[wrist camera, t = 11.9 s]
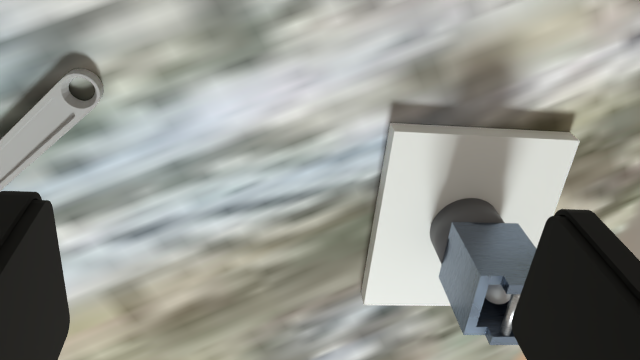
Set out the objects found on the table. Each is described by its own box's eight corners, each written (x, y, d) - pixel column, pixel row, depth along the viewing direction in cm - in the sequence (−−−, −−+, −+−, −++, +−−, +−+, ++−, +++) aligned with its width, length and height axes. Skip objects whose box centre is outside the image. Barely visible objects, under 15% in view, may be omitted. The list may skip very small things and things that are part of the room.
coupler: (451, 221, 40) (485, 285, 34) (518, 223, 41) (562, 285, 35) (438, 276, 43) (468, 345, 37) (501, 277, 43) (540, 344, 37)
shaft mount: (390, 122, 41) (424, 190, 32) (570, 132, 43) (646, 198, 34) (360, 293, 49) (382, 383, 40) (514, 294, 50) (565, 381, 42)
